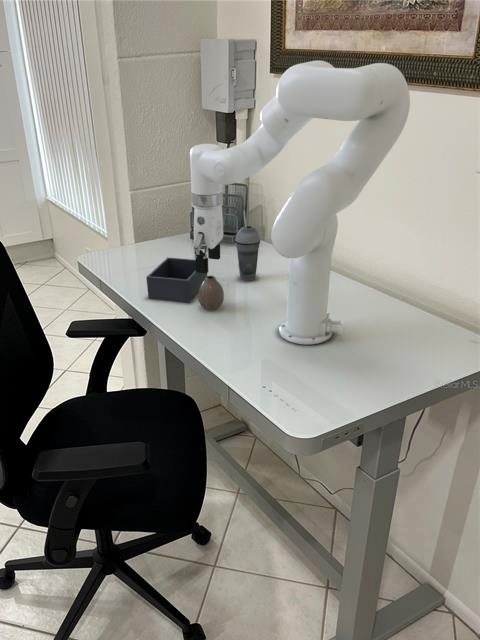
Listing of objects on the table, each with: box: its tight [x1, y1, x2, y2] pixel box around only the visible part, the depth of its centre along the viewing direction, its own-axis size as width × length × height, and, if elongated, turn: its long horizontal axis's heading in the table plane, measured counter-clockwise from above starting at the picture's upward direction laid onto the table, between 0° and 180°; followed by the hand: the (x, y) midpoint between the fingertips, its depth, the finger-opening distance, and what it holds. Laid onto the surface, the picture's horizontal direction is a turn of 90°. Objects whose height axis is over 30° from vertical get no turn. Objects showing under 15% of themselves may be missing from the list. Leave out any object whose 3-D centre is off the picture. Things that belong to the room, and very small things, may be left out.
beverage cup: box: [234, 209, 261, 282], centre depth 169 cm, size 7×7×20 cm
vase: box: [197, 275, 225, 312], centre depth 156 cm, size 7×7×9 cm
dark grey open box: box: [145, 257, 208, 304], centre depth 168 cm, size 12×15×7 cm
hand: (208, 265), depth 152 cm, fingers open, 9 cm apart
